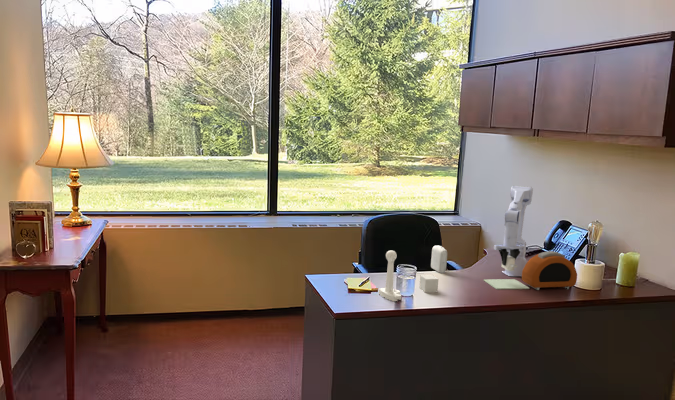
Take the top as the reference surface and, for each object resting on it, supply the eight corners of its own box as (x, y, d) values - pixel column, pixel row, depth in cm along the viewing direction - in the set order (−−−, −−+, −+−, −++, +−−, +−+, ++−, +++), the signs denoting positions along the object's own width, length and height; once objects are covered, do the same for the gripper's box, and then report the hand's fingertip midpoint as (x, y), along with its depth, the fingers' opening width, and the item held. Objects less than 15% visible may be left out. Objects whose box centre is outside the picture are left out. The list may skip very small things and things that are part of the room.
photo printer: (447, 273, 256) (448, 248, 254) (439, 273, 255) (441, 248, 253) (437, 267, 266) (438, 243, 264) (429, 267, 265) (431, 243, 263)
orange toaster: (531, 290, 234) (535, 254, 231) (520, 284, 242) (523, 249, 240) (576, 289, 239) (580, 254, 237) (563, 283, 248) (567, 249, 245)
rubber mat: (514, 280, 249) (514, 279, 249) (529, 288, 236) (529, 287, 236) (483, 280, 246) (483, 279, 246) (496, 289, 234) (496, 288, 233)
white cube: (424, 292, 225) (425, 279, 224) (419, 288, 230) (420, 275, 230) (437, 292, 226) (438, 278, 225) (431, 287, 232) (432, 274, 231)
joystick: (376, 294, 220) (379, 247, 217) (390, 291, 224) (393, 246, 221) (392, 302, 210) (395, 254, 207) (407, 299, 214) (410, 252, 211)
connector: (506, 265, 244) (507, 254, 244) (517, 272, 234) (519, 260, 233) (500, 266, 244) (501, 254, 243) (511, 272, 234) (512, 260, 233)
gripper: (500, 238, 233) (497, 267, 235) (529, 238, 235) (526, 267, 237) (492, 234, 240) (490, 263, 242) (521, 234, 242) (518, 263, 244)
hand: (507, 265), depth 240 cm, fingers closed on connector, 3 cm apart
